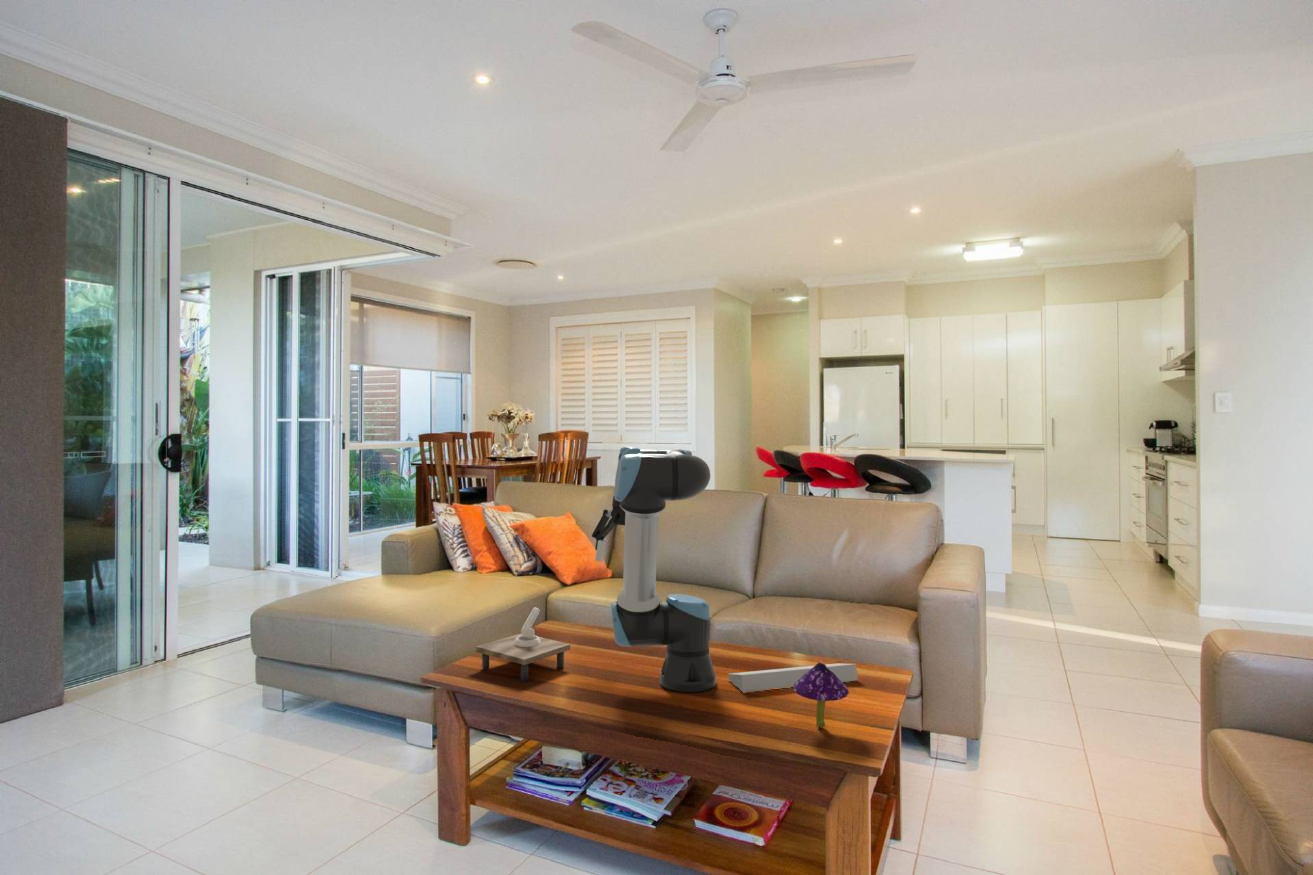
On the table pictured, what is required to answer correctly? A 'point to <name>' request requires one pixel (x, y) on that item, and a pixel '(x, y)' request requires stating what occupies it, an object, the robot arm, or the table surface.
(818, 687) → the decorative mushroom
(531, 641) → the white ring with handle
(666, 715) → the table surface
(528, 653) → the small wooden table
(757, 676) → the decorative molding
